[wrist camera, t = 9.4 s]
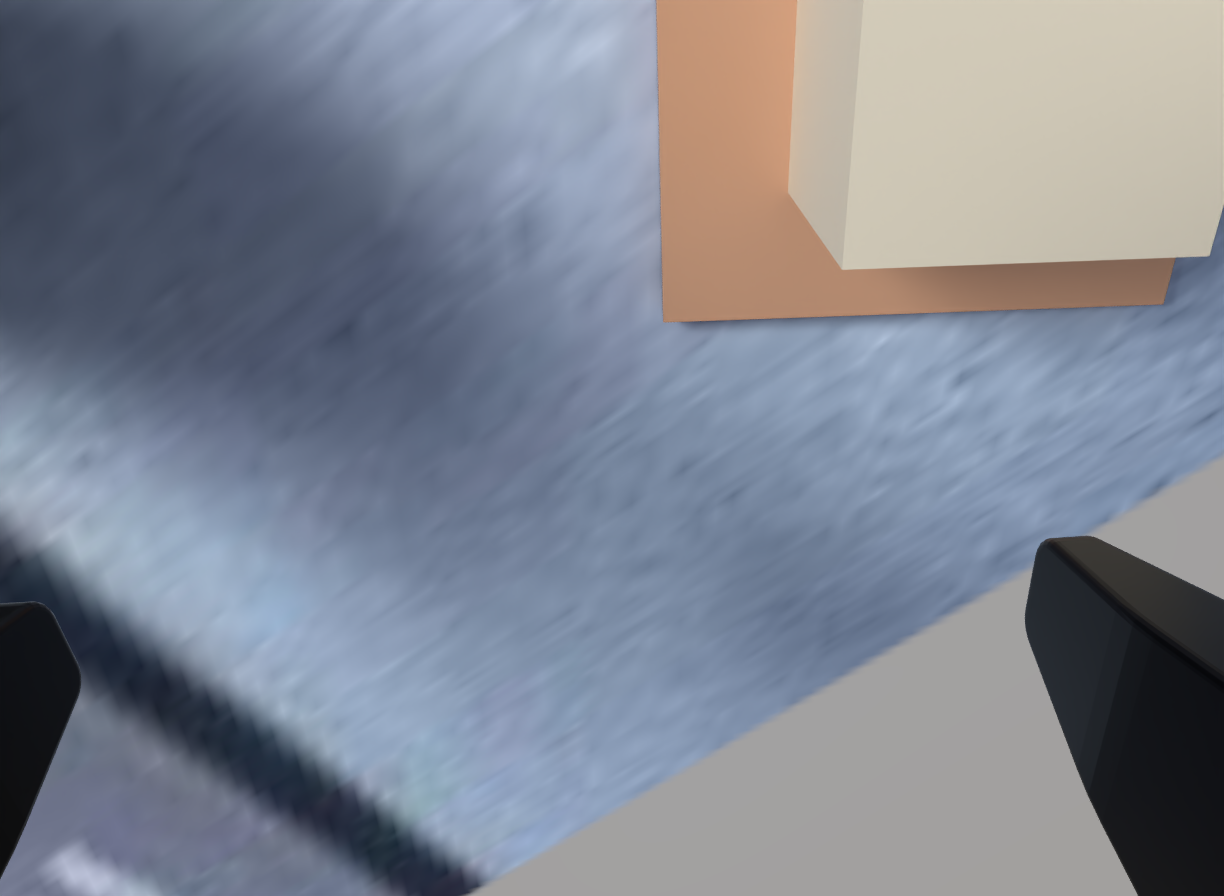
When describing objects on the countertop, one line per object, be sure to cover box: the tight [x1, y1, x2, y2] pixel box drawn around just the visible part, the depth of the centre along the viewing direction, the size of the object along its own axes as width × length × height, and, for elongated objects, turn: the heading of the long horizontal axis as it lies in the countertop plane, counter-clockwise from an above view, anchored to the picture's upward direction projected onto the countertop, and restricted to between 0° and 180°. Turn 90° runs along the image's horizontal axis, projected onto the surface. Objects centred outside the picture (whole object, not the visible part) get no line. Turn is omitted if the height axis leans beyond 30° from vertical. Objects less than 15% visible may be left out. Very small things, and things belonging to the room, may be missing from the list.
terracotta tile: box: [656, 0, 1175, 322], centre depth 16 cm, size 10×10×1 cm
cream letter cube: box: [788, 0, 1224, 270], centre depth 13 cm, size 5×5×5 cm
